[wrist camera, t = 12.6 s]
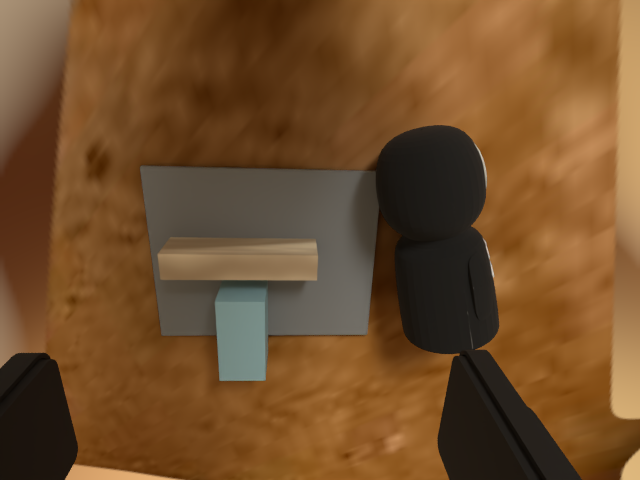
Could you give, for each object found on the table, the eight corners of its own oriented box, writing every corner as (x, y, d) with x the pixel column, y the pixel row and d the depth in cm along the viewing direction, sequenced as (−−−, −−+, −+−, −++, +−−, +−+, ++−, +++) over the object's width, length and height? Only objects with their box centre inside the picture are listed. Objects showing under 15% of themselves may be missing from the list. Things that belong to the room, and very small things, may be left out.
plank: (170, 237, 40) (157, 254, 36) (315, 238, 40) (317, 255, 37) (172, 260, 40) (160, 279, 37) (315, 261, 41) (317, 280, 38)
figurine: (522, 325, 39) (508, 112, 31) (456, 377, 35) (421, 148, 28) (446, 293, 47) (420, 116, 39) (385, 333, 43) (343, 145, 35)
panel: (142, 165, 37) (139, 166, 37) (381, 171, 39) (382, 172, 38) (163, 332, 44) (161, 335, 44) (366, 331, 46) (367, 334, 45)
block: (215, 301, 37) (219, 380, 41) (264, 302, 38) (265, 380, 41) (222, 278, 41) (226, 352, 45) (267, 279, 42) (268, 352, 45)
